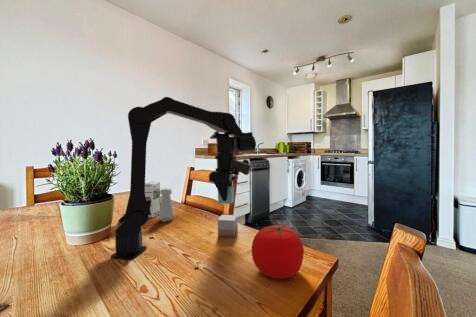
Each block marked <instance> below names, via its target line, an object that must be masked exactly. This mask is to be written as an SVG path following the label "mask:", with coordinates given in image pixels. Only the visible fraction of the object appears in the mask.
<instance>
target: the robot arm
mask: <svg viewBox="0 0 476 317" xmlns="http://www.w3.org/2000/svg"><path fill="white" fill-rule="evenodd" d="M168 114H170V115H174V116H177V117H181V118H184V119H188V120H191V121H195V122H197V123H201V124H204V125H205V126H207V127H208V128H211V129H212V130H214V132H213V134H211V135H210V137H209V139H210V140H216V155H215V157H214V159H215V160H216V168H215V170H214V171H211V172H210V173H209V174H208V182H212V183H213V184H214V185H215V186H214V187H216V189H217V192H218V191H219V193H220V195H221V198H222V200H223V201H226V200H227V194H228V187H229V186H233V185H234V184H233V183H234V181H235V180H236V179H237V178H238V176H239V175H240V173H242V174H243V175H246V176H248V175H249V174H250V171H251V168H252V164H250V160H248V159H246V158H244V159H243V160H242V161H241V160H238V159H237V156H236V155H235V151H236V152H237V153H249V152H250V153H251V152H254V151H255V150H256V147H257V142H256V139H255V136H254V135H253V132H252V131H249V132H248V131H247V132H243V131H242V129H241V128H240V126H239V125H238V124H237V121H236V118H235V116H234V115H233V114H232V113H230V112H223V111H210V110H208V109H207V110H206V109H204V108H200V107H198V106H194V105H192V104H188V103H186V102H183V101H179V100H176V99H174V98H172V97H169V96H165V97H163V98H162V99H160V100H157V101H154V102H152V103H149V104H147V105H145V106H135V107H133V108H131V109H130V110H129V112H128V114H127V118H128V120H127V121H128V125H129V126H128V127H129V133H130V137H131V161H130V162H131V163H130V186H129V188H130V191H129V196H128V200H127V205H126V210H125V213H124V214H123V215H122V216H121V217H120V218H119V219H118V220H117V223H116V226H115V230H114V232H115V252H114V253H112V254H111V255H110V258H111V259H112V258H113V259H123V260H133V259H135V258H136V257H138V256H139V255H140V254H141V253H143V252H144V251H146V249H147V248H148V247H147V246H145V245H144V246H143V232H142V227H143V226H145V224H146V223H147V222H148V221H149V217H148V215H150V216H151V211H150V206H151V197H150V196H148V197H145V183H146V164H147V143H148V138H149V134H150V129H151V126H152V122H154V121H156V120H158V119H159V118H162V117H164V116H165V115H168Z"/></svg>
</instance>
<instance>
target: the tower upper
mask: <svg viewBox="0 0 476 317" xmlns="http://www.w3.org/2000/svg"><path fill="white" fill-rule="evenodd" d="M237 224H238V215H236V214H235V215H234V214H232V215H231V214H221V215H220V216H219V217H218V219H217V230H218V229H227V230H235V228H236V226H237Z"/></svg>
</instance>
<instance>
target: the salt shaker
mask: <svg viewBox="0 0 476 317" xmlns="http://www.w3.org/2000/svg"><path fill="white" fill-rule="evenodd" d="M172 192H173V191H172V189H171V187H170V188H169V187H164V188H162V189H161V188H160V196H161V198H160V202H161V205H160V211H159V215H158V217H159V220H160V221H161V222H163V223H167V221H169V222H171V221H172V220H173V218H174V215H175V213H174V208H173V204H172V203H173V202H172V199H171V198H172V197H171V195H172ZM170 220H171V221H170Z"/></svg>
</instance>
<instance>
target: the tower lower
mask: <svg viewBox="0 0 476 317" xmlns="http://www.w3.org/2000/svg"><path fill="white" fill-rule="evenodd" d="M238 226H239V224H238V223H237V226H236V228H235V230H227V229H218V228H217V237H218V238H225V239H235V238H236V237H237V234H238V232H239V231H238V228H239V227H238Z"/></svg>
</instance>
